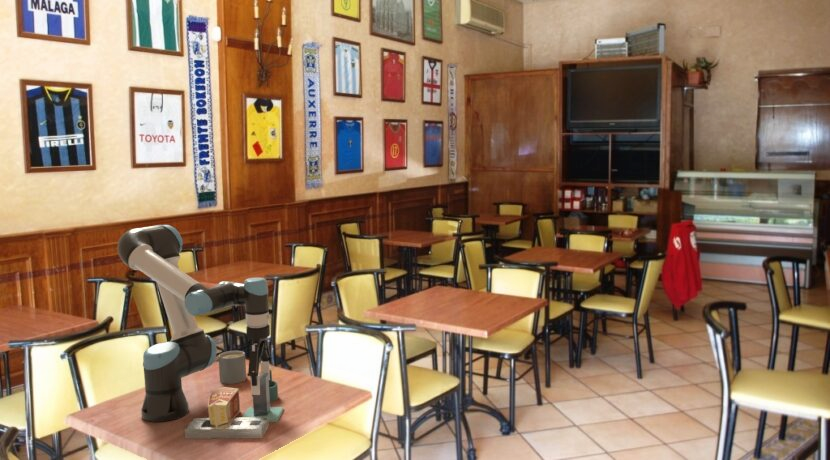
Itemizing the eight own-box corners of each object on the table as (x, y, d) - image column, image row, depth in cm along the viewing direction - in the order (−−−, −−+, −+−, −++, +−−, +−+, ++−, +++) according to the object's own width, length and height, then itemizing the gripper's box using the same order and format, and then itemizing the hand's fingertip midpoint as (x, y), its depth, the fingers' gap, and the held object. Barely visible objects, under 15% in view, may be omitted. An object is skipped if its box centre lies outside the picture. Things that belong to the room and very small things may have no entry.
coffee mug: (239, 384, 263) (237, 359, 261) (215, 383, 265) (213, 357, 263) (254, 372, 276) (253, 348, 274) (231, 371, 278) (229, 347, 276)
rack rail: (185, 438, 215) (184, 429, 215) (194, 426, 224) (194, 417, 224) (261, 438, 215) (261, 428, 214) (268, 426, 224) (268, 416, 223)
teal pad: (240, 422, 227) (240, 419, 227) (248, 410, 237) (248, 407, 237) (277, 421, 227) (276, 418, 227) (283, 409, 237) (283, 407, 237)
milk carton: (240, 411, 236) (232, 432, 217) (212, 413, 235) (201, 435, 215) (238, 385, 236) (229, 403, 216) (210, 387, 235) (199, 406, 215)
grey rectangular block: (253, 415, 230) (251, 377, 228) (256, 410, 234) (255, 373, 233) (267, 415, 230) (265, 377, 228) (270, 410, 234) (268, 373, 232)
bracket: (271, 392, 254) (270, 368, 253) (282, 399, 247) (281, 375, 246) (248, 398, 249) (246, 374, 248) (258, 405, 241) (257, 380, 240)
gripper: (259, 335, 216) (263, 401, 218) (277, 315, 240) (280, 374, 243) (235, 335, 216) (239, 401, 219) (256, 315, 240) (258, 374, 243)
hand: (260, 387), depth 231 cm, fingers open, 13 cm apart
